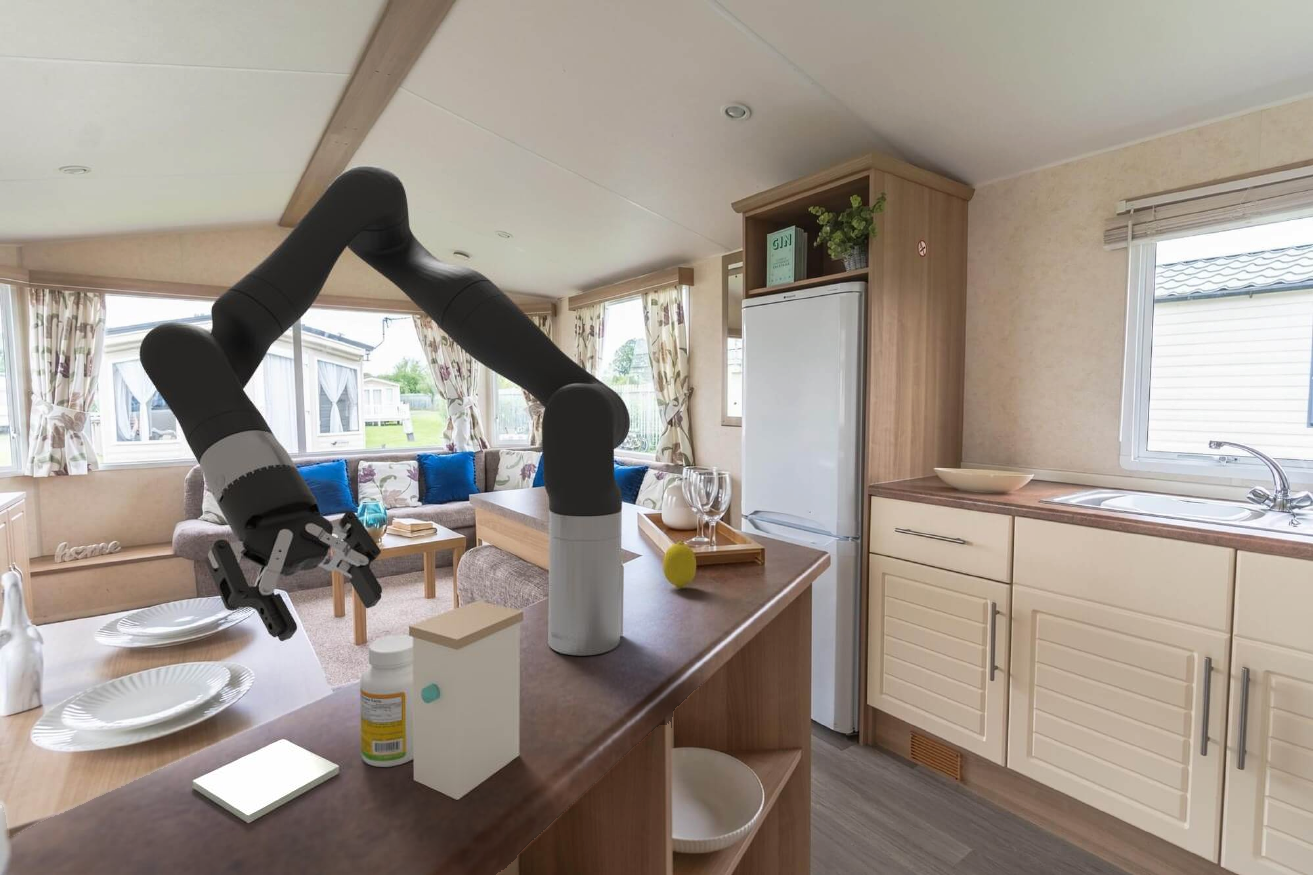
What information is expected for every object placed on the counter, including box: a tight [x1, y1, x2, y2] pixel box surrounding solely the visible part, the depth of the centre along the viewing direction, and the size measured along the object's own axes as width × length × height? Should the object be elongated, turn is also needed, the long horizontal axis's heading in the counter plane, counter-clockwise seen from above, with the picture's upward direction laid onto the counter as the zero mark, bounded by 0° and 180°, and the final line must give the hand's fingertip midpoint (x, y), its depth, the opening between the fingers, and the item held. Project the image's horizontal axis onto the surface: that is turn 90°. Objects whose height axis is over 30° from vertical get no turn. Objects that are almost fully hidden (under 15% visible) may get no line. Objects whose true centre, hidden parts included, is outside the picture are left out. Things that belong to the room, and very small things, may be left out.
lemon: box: [662, 541, 697, 590], centre depth 102 cm, size 6×6×8 cm
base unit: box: [408, 600, 524, 801], centre depth 51 cm, size 8×5×13 cm
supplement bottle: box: [359, 634, 414, 768], centre depth 53 cm, size 5×5×10 cm
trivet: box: [192, 738, 340, 824], centre depth 49 cm, size 7×8×1 cm
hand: (334, 618), depth 58 cm, fingers open, 8 cm apart
